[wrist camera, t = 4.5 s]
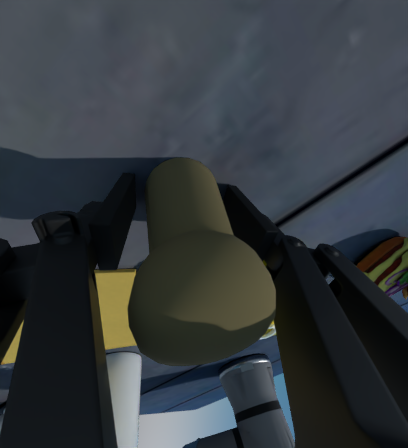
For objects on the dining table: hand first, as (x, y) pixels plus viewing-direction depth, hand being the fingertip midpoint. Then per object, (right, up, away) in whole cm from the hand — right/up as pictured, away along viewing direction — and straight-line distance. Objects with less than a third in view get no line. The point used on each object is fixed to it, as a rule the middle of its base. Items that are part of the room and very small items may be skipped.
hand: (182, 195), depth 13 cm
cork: (0, 0, 0) cm, 1 cm away
